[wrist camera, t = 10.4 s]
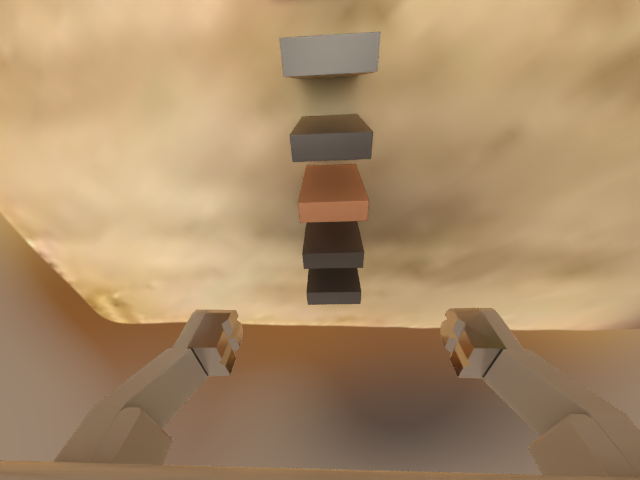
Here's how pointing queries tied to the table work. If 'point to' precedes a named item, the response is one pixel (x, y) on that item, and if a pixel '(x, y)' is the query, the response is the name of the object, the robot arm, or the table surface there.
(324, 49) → the domino
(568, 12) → the table surface
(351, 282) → the domino
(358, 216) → the domino
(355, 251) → the domino
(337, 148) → the domino
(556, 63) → the table surface
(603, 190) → the table surface
